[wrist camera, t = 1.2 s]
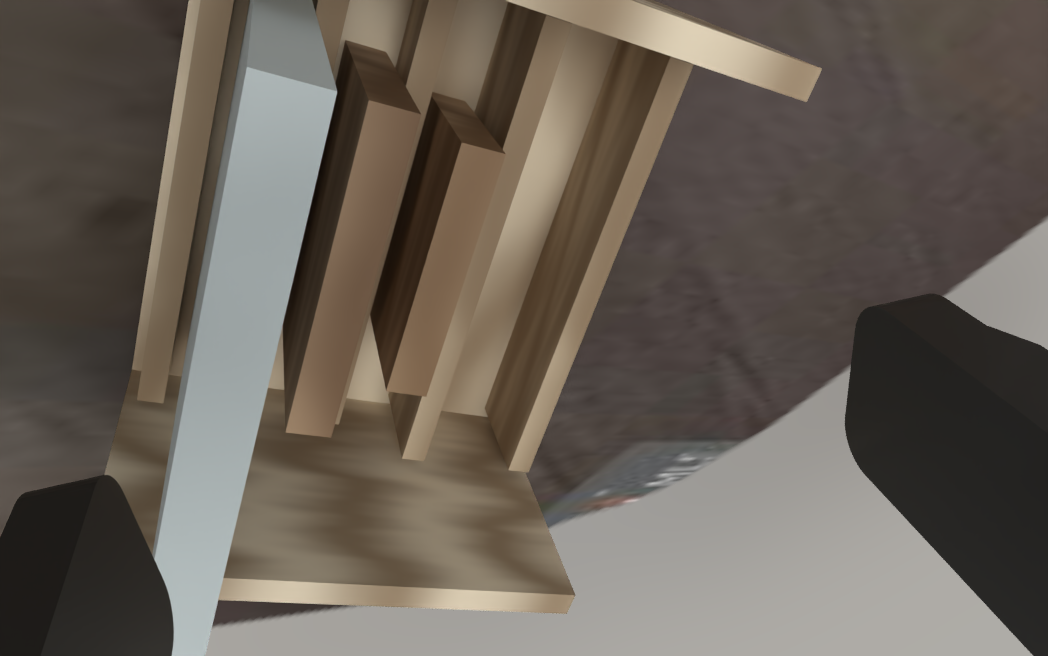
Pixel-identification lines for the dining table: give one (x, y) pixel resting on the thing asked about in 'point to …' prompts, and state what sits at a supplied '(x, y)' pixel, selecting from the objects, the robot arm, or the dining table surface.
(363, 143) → the offcut
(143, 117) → the dining table surface
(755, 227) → the dining table surface
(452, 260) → the offcut
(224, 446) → the blue-grey flat rectangular block
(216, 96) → the rack
